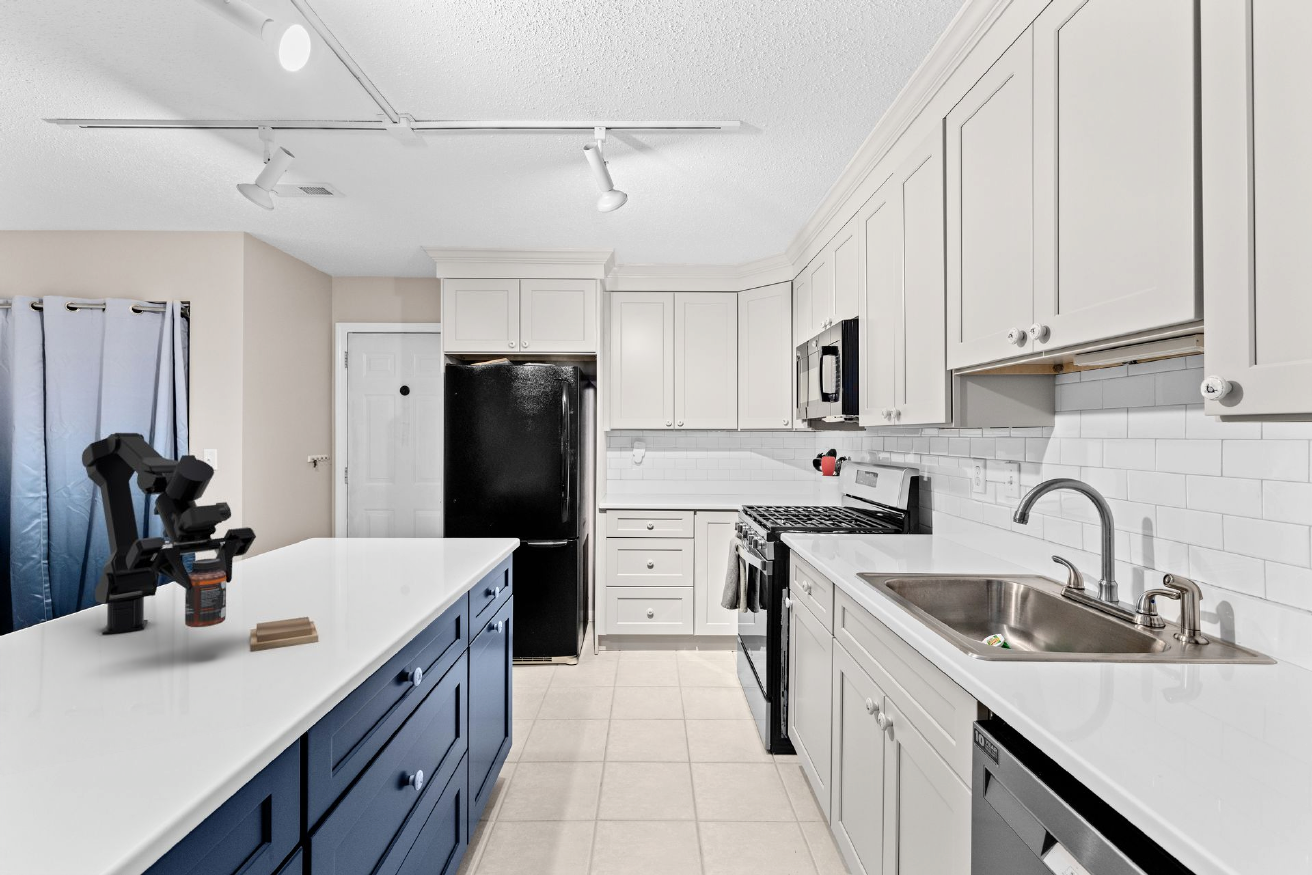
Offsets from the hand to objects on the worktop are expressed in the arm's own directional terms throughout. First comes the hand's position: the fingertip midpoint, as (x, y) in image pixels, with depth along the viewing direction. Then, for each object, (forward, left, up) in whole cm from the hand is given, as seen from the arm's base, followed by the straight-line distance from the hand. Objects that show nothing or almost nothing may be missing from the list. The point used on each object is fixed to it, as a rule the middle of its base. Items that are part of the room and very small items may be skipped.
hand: (210, 584), depth 111 cm
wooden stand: (-7, +12, -13) cm, 19 cm away
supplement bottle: (-1, -1, -7) cm, 7 cm away
